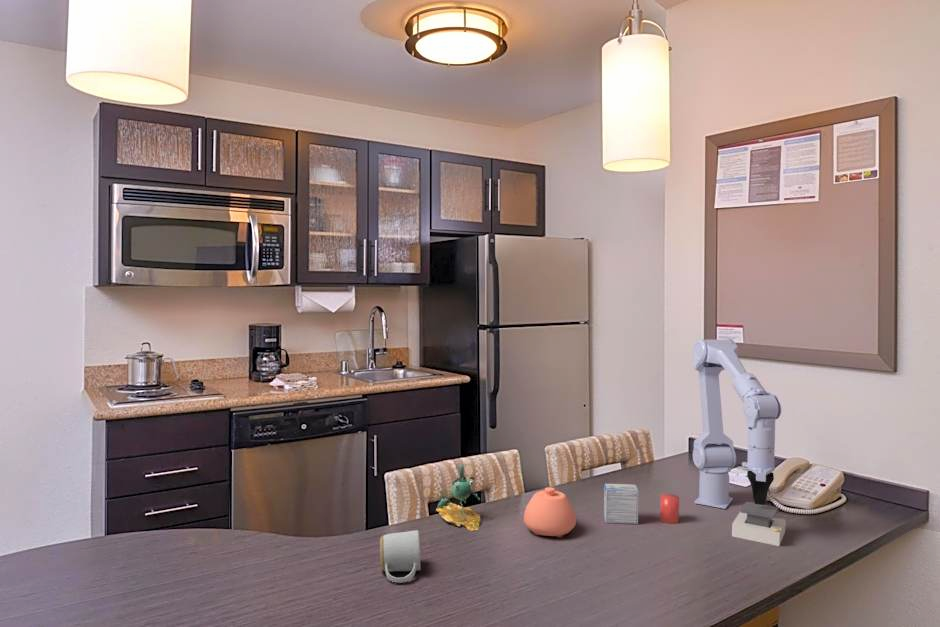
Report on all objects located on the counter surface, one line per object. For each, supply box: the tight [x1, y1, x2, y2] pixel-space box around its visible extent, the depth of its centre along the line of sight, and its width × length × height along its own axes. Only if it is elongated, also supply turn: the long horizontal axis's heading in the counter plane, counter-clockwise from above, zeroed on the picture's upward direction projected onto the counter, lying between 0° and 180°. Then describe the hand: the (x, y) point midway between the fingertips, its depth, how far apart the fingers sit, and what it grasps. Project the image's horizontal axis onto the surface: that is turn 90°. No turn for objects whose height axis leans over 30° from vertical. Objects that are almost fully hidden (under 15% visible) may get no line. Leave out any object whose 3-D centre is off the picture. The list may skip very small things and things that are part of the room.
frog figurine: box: [435, 464, 482, 532], centre depth 158 cm, size 10×18×15 cm, turn 26°
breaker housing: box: [731, 510, 787, 547], centre depth 149 cm, size 10×10×4 cm
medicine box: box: [603, 483, 640, 525], centre depth 157 cm, size 8×4×9 cm, turn 84°
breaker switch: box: [740, 501, 779, 528], centre depth 149 cm, size 7×7×4 cm
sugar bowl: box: [523, 486, 577, 538], centre depth 151 cm, size 12×14×10 cm
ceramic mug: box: [379, 529, 421, 583], centre depth 128 cm, size 11×8×8 cm
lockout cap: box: [659, 493, 680, 525], centre depth 158 cm, size 4×4×6 cm
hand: (759, 503), depth 149 cm, fingers closed
